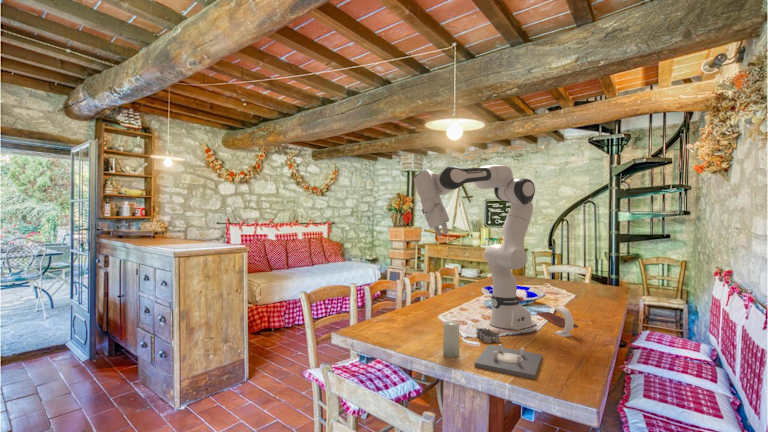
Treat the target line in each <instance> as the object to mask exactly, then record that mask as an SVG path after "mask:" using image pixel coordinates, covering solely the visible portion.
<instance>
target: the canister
mask: <svg viewBox="0 0 768 432" xmlns="http://www.w3.org/2000/svg"><path fill="white" fill-rule="evenodd" d="M442 325H443V330H442V332H443V335H442V336H443V337H442V341H443V342H442V343H443V349H442V350H443V356H445V357H447V358H451V359H452V358H458V357H459V356H460V322H457V321H455V320H454V321H453V320H452V321H451V320H447V321H444V322H443V323H442Z"/></svg>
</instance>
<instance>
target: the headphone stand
mask: <svg viewBox="0 0 768 432" xmlns="http://www.w3.org/2000/svg"><path fill="white" fill-rule="evenodd" d="M554 309H555V310H556V311H558V312H559V313H560V314H561V315H562V318H564V319H565V327H564V328H562V329H563V330H557V331H555V332H554V334H555V335H558V336H560V337H563V338H567V337H570V336H572V335H573V334H572V333H571V331H572V330H573V328H574V327H573V326H574V324H575V321H574V317H573V314H572V313H571V312H570V310H569V309H568V308H566V307H565V306H563V305H561V306H555V307H554Z"/></svg>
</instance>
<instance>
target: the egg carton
mask: <svg viewBox="0 0 768 432" xmlns="http://www.w3.org/2000/svg"><path fill="white" fill-rule="evenodd" d="M475 329H476V337H477V338H479V339H480V340H483V342H484V343H488V344H491V343H497V344H498V343H499V342H500V335H501V334H500V332H498V331H493V330H491V329H490V328H488V329H487V328H486V327H484V328H483V327H482V328H481V327H475Z"/></svg>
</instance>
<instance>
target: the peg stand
mask: <svg viewBox="0 0 768 432" xmlns="http://www.w3.org/2000/svg"><path fill="white" fill-rule="evenodd" d="M542 360H543V354H542V353H537V352H530V351H526V349H525V347H524V348H523V347H521V348H520V350H519V349H514V348H508V347H503V344H501V343H499V344H498V346H497V345H491V344H488V345H487V346H486V347H485V349H484V350H483V351H482V352H481V353H480V355H479V356H478V357H477V358H476V360H475V361H474V367H475V368H478V369H483V370H489V371H493V372H498V373H503V374H507V375H512V376H517V377H521V378H526V379H529V380H530V379H532V380H536V378H537V375H538V372H539V369H540V366H541V364H542Z"/></svg>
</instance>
